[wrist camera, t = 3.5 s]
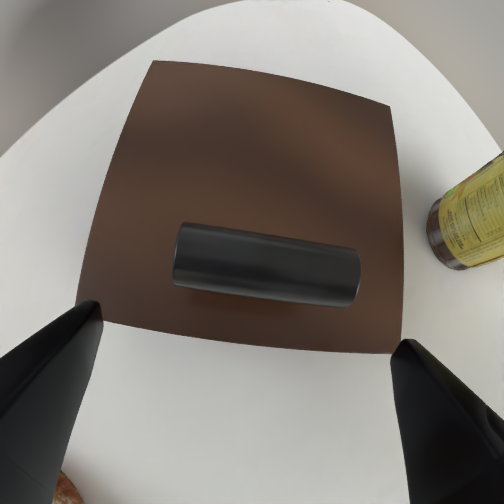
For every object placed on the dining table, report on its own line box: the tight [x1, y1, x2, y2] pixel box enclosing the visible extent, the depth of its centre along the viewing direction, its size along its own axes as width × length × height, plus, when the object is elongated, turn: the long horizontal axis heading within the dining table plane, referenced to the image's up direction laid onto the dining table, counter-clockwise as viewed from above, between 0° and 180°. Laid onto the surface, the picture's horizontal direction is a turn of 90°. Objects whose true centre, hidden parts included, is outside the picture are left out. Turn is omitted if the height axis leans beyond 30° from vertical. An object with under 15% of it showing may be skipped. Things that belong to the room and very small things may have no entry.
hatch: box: [75, 60, 404, 354], centre depth 12 cm, size 13×14×5 cm
